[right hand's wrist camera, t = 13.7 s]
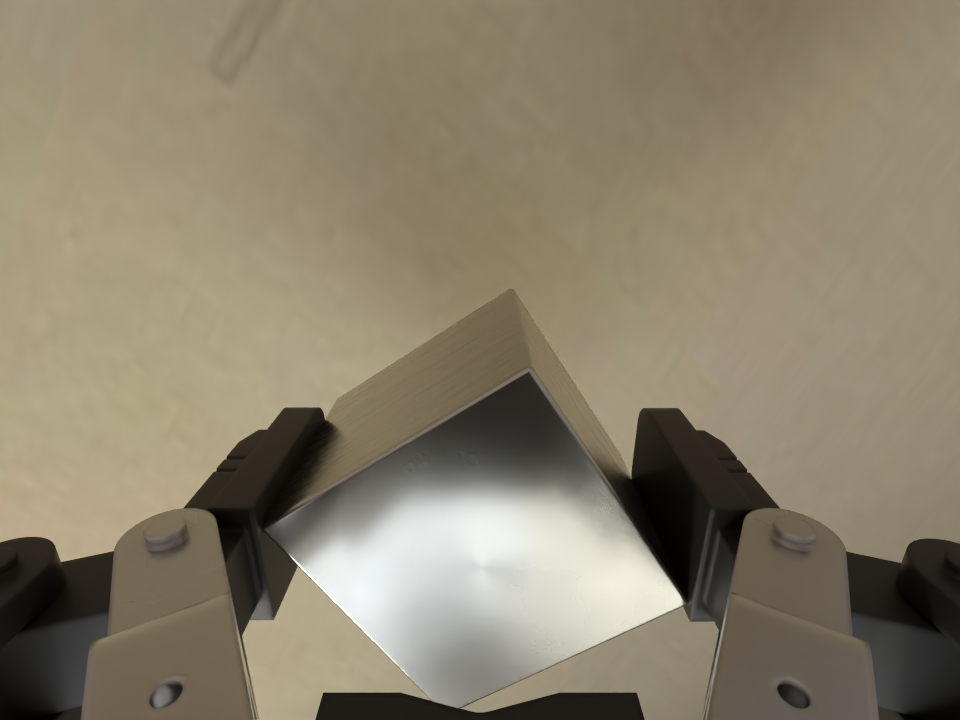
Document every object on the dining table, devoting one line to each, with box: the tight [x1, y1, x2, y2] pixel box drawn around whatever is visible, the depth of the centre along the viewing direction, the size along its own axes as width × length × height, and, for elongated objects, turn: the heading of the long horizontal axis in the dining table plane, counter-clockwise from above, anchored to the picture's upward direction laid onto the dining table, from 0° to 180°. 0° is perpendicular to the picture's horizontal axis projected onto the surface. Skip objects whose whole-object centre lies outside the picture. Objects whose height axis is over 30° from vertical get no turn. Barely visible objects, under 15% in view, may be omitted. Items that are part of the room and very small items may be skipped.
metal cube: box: [263, 289, 687, 709], centre depth 11 cm, size 5×5×5 cm
